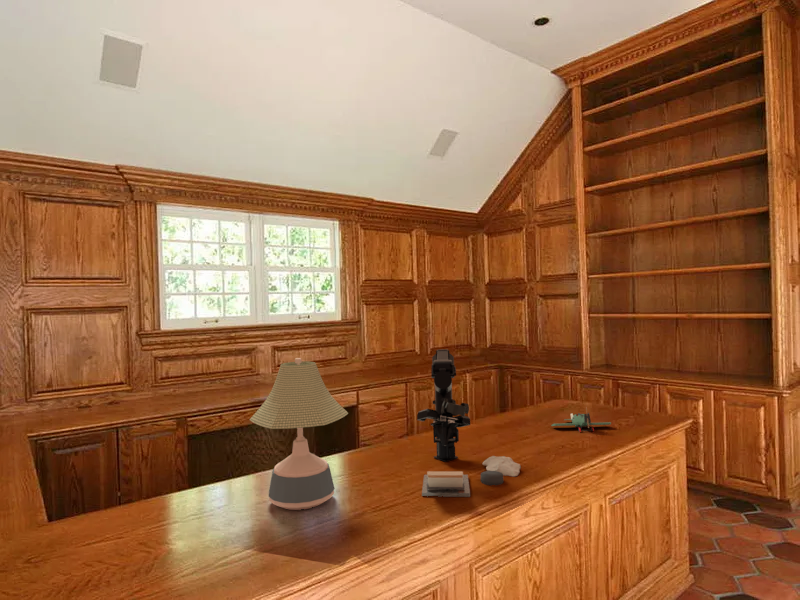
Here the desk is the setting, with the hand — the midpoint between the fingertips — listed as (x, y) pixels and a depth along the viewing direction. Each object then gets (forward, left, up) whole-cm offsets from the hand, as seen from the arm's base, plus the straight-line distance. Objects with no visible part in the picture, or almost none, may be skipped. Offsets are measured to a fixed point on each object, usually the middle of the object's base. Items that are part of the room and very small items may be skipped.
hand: (444, 445), depth 159 cm
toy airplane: (-8, +89, -12) cm, 90 cm away
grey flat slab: (+4, -4, -11) cm, 12 cm away
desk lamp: (-16, -42, -11) cm, 47 cm away
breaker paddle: (+8, -8, -9) cm, 14 cm away
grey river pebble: (+11, +10, -11) cm, 18 cm away
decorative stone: (+6, +21, -11) cm, 25 cm away
